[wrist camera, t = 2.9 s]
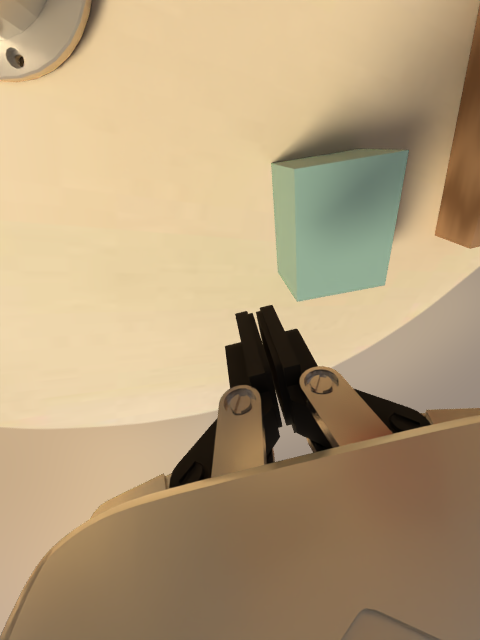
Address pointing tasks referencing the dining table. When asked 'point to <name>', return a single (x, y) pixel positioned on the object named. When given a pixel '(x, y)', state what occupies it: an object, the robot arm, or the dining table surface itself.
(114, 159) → the dining table surface
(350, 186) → the block
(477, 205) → the batten
